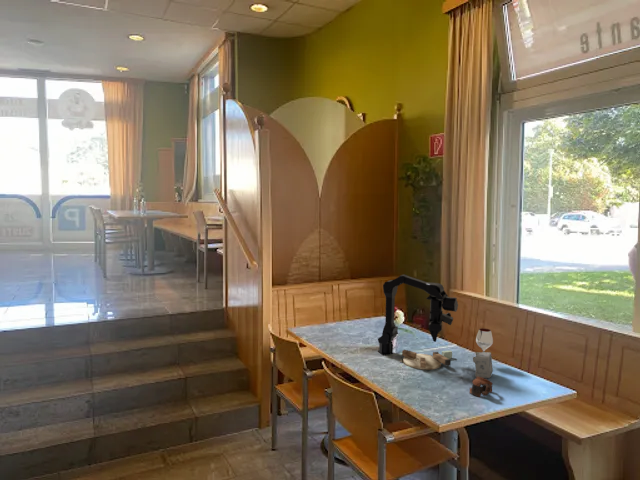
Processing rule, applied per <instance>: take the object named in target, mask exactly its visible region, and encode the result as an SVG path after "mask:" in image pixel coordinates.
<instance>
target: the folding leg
mask: <svg viewBox="0 0 640 480" xmlns="http://www.w3.org/2000/svg"><path fill="white" fill-rule="evenodd" d="M432 356H433V358H434V359H436V360H438V361H439V362H441V364H443V365H445V366H447V367H448V366H451V363H452V362H451V361H452V360H451V358H450V359H448V358H446V357H444V356H443V355H442V353H439V351H433V352H432Z"/></svg>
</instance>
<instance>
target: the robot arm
mask: <svg viewBox="0 0 640 480" xmlns="http://www.w3.org/2000/svg"><path fill="white" fill-rule="evenodd" d="M403 284H405V285H408V286H411V287H414V288H417V289H418V290H419V289H420V290H422V291H424V292H425V293H427V294H429V295H428V296H427V297H426V300H429V301H430V304H429V305H430V307H429V323H428V331H429V333H430V336H431V338H432V341H433V342H434V343H436V342H437V339H438V335H439V333H440V332H442V330H443V329H442V327H443V325H442V324H443V323H445V324H448V326H451V325H452V323H453V320H454V317H453V316H452V315H451V312H457V311H458V307H459V303H458V299H457V297H450V296H448V294H447V292H446V291H445V288H444V285H443V284H441V283H439V282H427V281H424V280H422V279H418V278H415V277H412V276H409V275H407V274H401V275H400V276H398V277H396V278H394V279H390V280H387V281H385V282H384V283H383V284H382V290H383V294H384V296H385V322H384V326H383V328H382V334H381V336H380V337H378V338H377V342H378V345H379V347H378V350H377V352H378V353H380V354H381V355H382V356H386V355H388V356H389V355H394V344H393V341H394V339H396V337H397V336H398V334H399V331H398V329H399V327H398V326H396V325H395V324H396V323H395V306H396V305H395V300H396V295H397V292H398V287H400V286H401V285H403ZM443 310H444V311H448V312H447V313H443Z"/></svg>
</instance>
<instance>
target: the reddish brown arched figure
mask: <svg viewBox="0 0 640 480" xmlns="http://www.w3.org/2000/svg"><path fill="white" fill-rule="evenodd" d="M471 382H472V387H470V388H469V394H471V395H473V396H476V397H478V398H480V397H481V395H483V396H484V397H486V396H488V394H489V393H490V394H492V393H493V382H492V381H491V380H489V379H488V378H483V377H478V376H475V378H474V379H472V380H471Z"/></svg>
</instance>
